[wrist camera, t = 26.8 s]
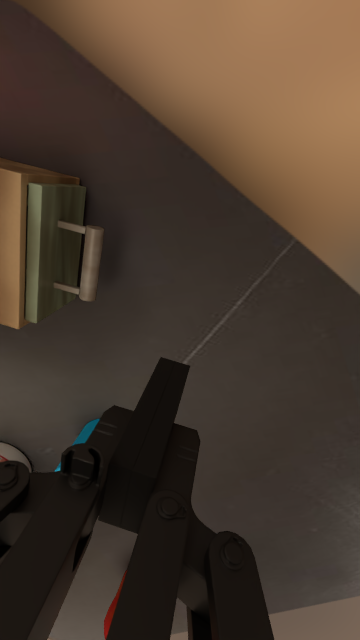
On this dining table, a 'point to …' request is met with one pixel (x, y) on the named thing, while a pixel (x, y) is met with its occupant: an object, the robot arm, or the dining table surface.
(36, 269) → the drawer
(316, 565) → the dining table surface
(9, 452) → the fruit juice
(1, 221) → the cabinet
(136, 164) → the dining table surface
